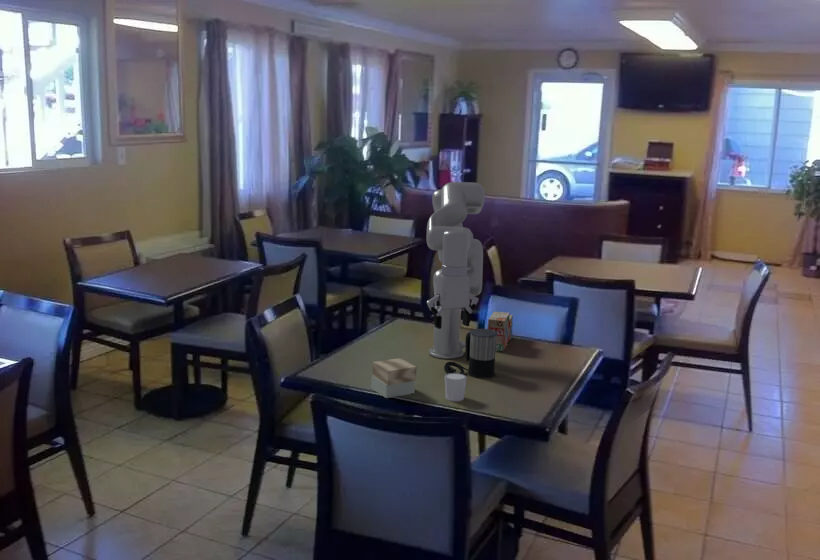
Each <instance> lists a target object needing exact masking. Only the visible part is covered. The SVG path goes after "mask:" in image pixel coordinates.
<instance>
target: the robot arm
mask: <svg viewBox="0 0 820 560" xmlns="http://www.w3.org/2000/svg"><path fill="white" fill-rule="evenodd" d="M485 196H486V195H485V189H484V186H482V184H480V183H478V182H470V181H469V182H468V181H467V182H466V181H464V182H463V181H452V182H448V183H445V184H444V186H442V188H440V189H437V190H435V191H434V192H433V193H432V198H431V200H432V201H431V202H432V208H433V213H432V214H431V215H430V217H429V219H428V221H427V225H426V234H425V235H426V239H425V241H426V244H427V247H428V248H429V250H432V251H437V257H438V260H439V262H440V263H441V268H439V269H438V270H436V271H435V272H434V274H433V276H432V277H433V278H432V284H433V293H434V296H433V297H431V298H430V299H428V300H427V301H426V304H427V307H428V308H429V310H428V311H430V312H431V314H432V315H433V342H432V343H433V346H432V347H431V348H429V349H428V354H429V355H430V356H432V357H433V358H438V359H446V360H447V359H448V360H449V359H451V360H453V359H458V358H461V357H463V356H464V350H463V349H465V346H466V344H465V343H466V341H465V342H464V341H462V340H461V324H462V325H463V326H465V327H470V322H471V314H473V311H474V309H475V308H476V306H477V304H478V303H479V299H480V298H479V297H477V296H479V295H480V294H481V293H482V290H483V275H484V274H483V267H484V265H483V264H484V248H483V244H482V242H481V241H480V240H479V239H477V238H474V233H473V232H472V231H471V229H470V228H468V227H464V226H463V222H465V219H466V218H467V217H468V215H477V214H480V213H481V211H482V210H483V207H484V204H485V199H486V197H485ZM462 310H463V312H462ZM461 317H462V318H461ZM461 319H462V322H461Z"/></svg>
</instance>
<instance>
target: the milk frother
mask: <svg viewBox="0 0 820 560" xmlns="http://www.w3.org/2000/svg"><path fill="white" fill-rule="evenodd" d="M497 334H498V333H497V332H496V331H493V330H490V329H488V328H474V329H471V330H470V331H468V332H466V335H465V342H466V343H465V342H464V343H465V344H466V346H465V347H464V350H465V351H464V353H465V356H464V357H465V360H466V361H468V362H469V363H468V369H467V368H465V367H464V366H462V365H461V364H459V363H457V362H455V361H447V362H446V363H445V364H444V366H443V370H444V372H445V373H446V374H450V373H457V369H459V371H460V372H458V373H459V374H463V375H465V371H467V375H469V376H470V377H473V378H479V379H491V378H493V377H495V376H496V374H495V366H496V365H495V363H496V362H495V361H496V352H497V351H496V336H497ZM454 367H456V368H457V369H455V368H454Z"/></svg>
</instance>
